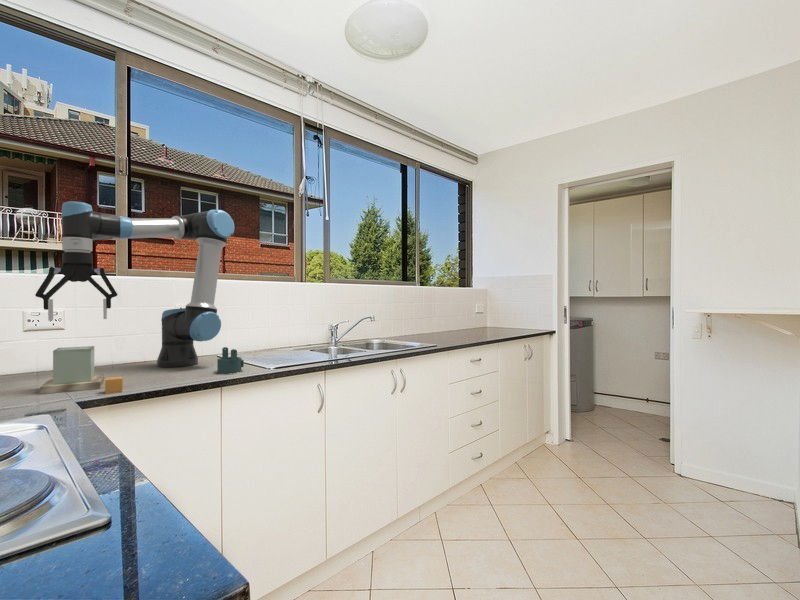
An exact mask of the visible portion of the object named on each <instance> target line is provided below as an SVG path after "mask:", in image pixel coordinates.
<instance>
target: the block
mask: <svg viewBox="0 0 800 600" xmlns="http://www.w3.org/2000/svg"><path fill="white" fill-rule="evenodd" d="M123 378H124V377H123V376H112V377H111V376H110V377H106V378H105V379H104V388H105V389H104V391H105V392H104V393H105V394H116V393H117V394H118V393H122V392H123V390H124V379H123Z"/></svg>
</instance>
